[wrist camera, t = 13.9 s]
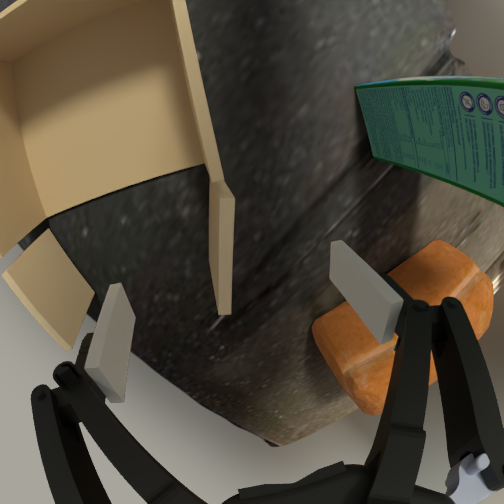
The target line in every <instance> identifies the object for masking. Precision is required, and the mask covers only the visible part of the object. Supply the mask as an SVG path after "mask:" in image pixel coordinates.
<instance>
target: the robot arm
mask: <svg viewBox="0 0 504 504" xmlns="http://www.w3.org/2000/svg"><path fill="white" fill-rule="evenodd" d="M329 278H330V280H331V281H332V282H333V283H334V285H335V286H336V287H337V289H338V290H339V291H340V292H341V294H342V295H343V296H344V297H345V299H346V300H347V301H348V303H349V304H350V305H351V307H352V308H353V309H354V310H355V312H356V313H357V314H358V316H359V317H360V318H361V320H362V321H363V322H364V324H365V325H366V326H367V328H368V329H369V330H370V332H371V333H372V334H373V336H374V337H375V338H376V340H377V341H378V342H379V344H380V345H381V344H384V343H386V342H389V341H391V340H392V339H393V335H394V332H395V333H396V334H397V336H398V339H397V342H396V345H395V348H394V351H395V356H394V362H393V367H392V372H391V377H390V382H389V386H388V391H387V395H386V399H385V404H384V408H383V411H382V415H381V419H380V422H379V426H378V430H377V433H376V436H375V439H374V443H373V446H372V449H371V451H370V453H369V455H368V457H367V459H366V462H365V464H364V465H357V464H349V465H344V463H343V461H341V462H338V463H335V464H333V465H330V466H327V467H324V468H321V469H318V470H317V471H315V472H313V473H311V474H310V475H308V476H306V477H305V478H303V479H301V480H299V481H297V482H295V483H291V484H264V485H258V486H253V487H248V488H242V489H238V491H239V494H236V495H235V496H232V497H230V498H229V499H227V500H226V501H224V502H223V503H222V504H478V503H479V502H480V501H482V500H483V499H484V498H486V497H487V496H489V495H491V494H493V493H495V492H497V491H498V490H500V489H502V488H504V428H503V425H502V421H501V416H500V412H499V407H498V403H497V399H496V396H495V392H494V388H493V385H492V381H491V378H490V375H489V371H488V369H487V365H486V362H485V360H484V357H483V354H482V351H481V348H480V346H479V343H478V340H477V338H476V335H475V333H474V330H473V328H472V325H471V323H470V321H469V318H468V316H467V314H466V311H465V309H464V307H463V305H462V303H461V302H460V301H459V300H458V299H457V298H454V297H450V296H448V297H445V298H443V300H442V302H441V305H433V306H430V305H429V304H428V303H427V302H425V301H423V300H419V299H415V300H414V299H413V298H412V297H411V296H410V295H409V294H408V293H407V292H406V291H405V290H404V289H403V288H402V287H401V286H400V285H399V284H398V283H397V282H395V281H394V280H393V279H392V278H391V277H390V276H388V275H386V274H384V273H379V274H377V273H376V272H375V271H374V270H373V269H372V268H371V267H370V266H369V265H368V264H367V263H366V262H365V261H364V260H363V259H362V258H361V257H359V256H358V255H357V254H356V253H355V252H354V251H353V250H352V249H351V248H350V247H349V246H348V245H347V244H345V243H344V242H343V241H342V240H338V241H333V242H331V255H330V275H329ZM135 318H136V317H135V315H134V313H133V310H132V308H131V306H130V303H129V301H128V298H127V296H126V294H125V291H124V289H123V286H122V284H121V283H117V284H111V285H110V287H109V289H108V292H107V295H106V298H105V301H104V303H103V306H102V309H101V312H100V315H99V318H98V322H97V325H96V328H95V331H94V333H87V335H86V336H85V338H84V339H83V340H82V343H81V347H80V350H79V354H78V356H77V360H76V363H75V365H74V364H73V363H72V362H69V361H66V362H62V363H61V364H59V365H58V366H57V367H56V368H55V370H54V372H53V379H54V380H55V381H56V383H57V384H58V385H59V386H60V387H58V388H55V389H52V390H51V389H50V388H49V387H48V386H47V385H44V384H42V385H39V386H37V387H36V388H35V389H34V390H33V391H32V394H31V405H32V412H33V419H34V425H35V430H36V436H37V441H38V446H39V450H40V454H41V459H42V462H43V466H44V470H45V473H46V477H47V480H48V483H49V487H50V490H51V493H52V495H53V498H54V501H55V504H112V503H111V501H110V499H109V498H108V496H107V493H106V491H105V489H104V488H103V485H102V483H101V481H100V478H99V476H98V474H97V472H96V469H95V467H94V465H93V462H92V460H91V457H90V455H89V452H88V449H87V447H86V444H85V441H84V438H83V435H82V432H81V429H80V426H79V423H80V422H82V423H83V424H84V426H85V427H86V429H87V430H88V432H89V433H90V434H91V436H92V438H93V439H94V441H95V442H96V443H97V445H98V446H99V447H100V449H101V450H102V451H103V453H104V454H105V455H106V456H107V458H108V459H109V460H110V462H111V463H112V464H113V465H114V467H115V468H116V469H117V470H118V471H119V473H120V474H121V475H122V476H123V477H124V479H125V480H126V481H127V482H128V483H129V484H130V485H131V486H132V487H133V489H134V490H135V491H136V492H137V493H138V494H139V495H140V496H141V497H142V498H143V499H144V500H145V501H146V502H147V504H208V503H206V502H205V501H203V500H202V499H200V498H199V497H198V496H197V495H195V494H194V493H193V492H191V491H190V490H189V489H188V488H187V487H185V486H184V485H183V484H182V483H181V482H180V481H178V480H177V479H176V478H175V477H174V476H173V475H172V474H170V473H169V472H168V471H167V470H166V469H165V468H164V467H163V466H162V465H161V464H160V463H158V461H156V460H155V459H154V458H153V457H152V456H151V455H150V454H149V453H148V452H147V451H146V450H145V449H144V448H143V446H141V444H140V443H139V442H138V441H137V440H136V439H135V438H134V437H133V436H132V435H131V434H130V432H128V430H127V429H126V428H125V427H124V426H123V425H122V423H121V422H120V421H119V420H118V419H117V418H116V416H115V415H114V414H113V413H112V411H111V410H110V409H109V408H108V407H107V405H106V404H105V398H107V399H108V400H109V401H110V402H111V403H120V402H124V399H125V388H126V380H127V371H128V363H129V356H130V349H131V342H132V336H133V330H134V324H135ZM431 351H432V355H433V360H434V364H435V369H436V373H437V378H438V383H439V389H440V394H441V401H442V407H443V413H444V422H445V430H446V439H447V451H448V458H449V463H450V467H451V470H450V471H449V473H448V476H447V480H446V482H445V485H446V487H447V492H446V494H442V493H439V492H436V491H433V490H430V489H427V488H424V487H421V486H418V485H415V482H416V478H417V475H418V471H419V467H420V463H421V458H422V454H423V449H424V444H425V439H426V431H424V430H423V423H424V418H425V411H426V404H427V396H428V386H429V376H430V361H431Z"/></svg>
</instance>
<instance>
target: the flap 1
mask: <svg viewBox="0 0 504 504" xmlns="http://www.w3.org/2000/svg"><path fill="white" fill-rule="evenodd" d="M2 277H3V278H4V280H5V281H6V282H7V284H8V285H9V286H10V288H11V289H12V290H13V292H14V293H15V294H16V296H17V297H18V298H19V300H20V301H21V302H22V303H23V305H24V306H25V307H26V308H27V309H28V311H29V312H30V313H31V314H32V315H33V317H34V318H35V319H36V320H37V321H38V322H39V323H40V325H41V326H42V327H43V328H44V329H45V330H46V331H47V332H48V333H49V334H50V336H51V337H52V338H53V339H54V340H55V341H56V342H57V343H58V344H59V345H60V346H61V347H62V348H63V349H64V350H65V351H69V350H71V349H73V346H74V343H75V340H76V338H77V335H78V332H79V330H80V327H81V325H82V322H83V320H84V317H85V315H86V312H87V310H88V307H89V305H90V303H91V300H92V298H93V296H94V294H95V292H94V291H93V289H92V288H91V287H90V286H89V284H88V283H87V282H86V281H85V279H84V278H83V277H82V275H81V274H80V273H79V271H78V270H77V269H76V267H75V266H74V264H73V263H72V262H71V260H70V259H69V258H68V256H67V255H66V253H65V252H64V250H63V249H62V247H61V246H60V245H59V243H58V242H57V240H56V239H55V237H54V236H53V234H52V232H51V231H50V229H49V228H48V229H47V230H46V231H45V232H44V233H43V234H41V235H40V236H39V237H38V238H37V239H36V240H35V241H34V242H33V243H32V244H31V245H30V246H29V247H28V248H27V249H26V250H25V251H24V252H23V253H22V254H21V255H20V256H19V257H18V258H17V259H16V260H15V261H14V262H13V263H12V264H11V265H10V266H9V267H8V269H7V270H6V271H5V272H4V273H3V274H2Z"/></svg>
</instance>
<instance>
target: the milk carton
mask: <svg viewBox="0 0 504 504" xmlns="http://www.w3.org/2000/svg"><path fill="white" fill-rule="evenodd" d="M355 89H356V92H357V96H358V99H359V102H360V106H361V109H362V113H363V117H364V121H365V125H366V128H367V133H368V137H369V141H370V145H371V150H372V154H373V159H377V160H380V161H384V162H387V163H390V164H394V165H397V166H400V167H403V168H406V169H409V170H412V171H415V172H418V173H421V174H424V175H427V176H430V177H433V178H436V179H438V180H441V181H444V182H446V183H449V184H451V185H454V186H456V187H459V188H461V189H464V190H466V191H469V192H471V193H473V194H476V195H478V196H480V197H483V198H485V199H487V200H489V201H491V202H494V203H496V204H498V205H500V206H502V207H504V79H501V78H489V77H475V76H421V77H406V78H398V79H391V80H384V81H378V82H372V83H366V84H361V85H356V86H355Z"/></svg>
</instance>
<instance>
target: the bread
mask: <svg viewBox="0 0 504 504" xmlns="http://www.w3.org/2000/svg"><path fill="white" fill-rule="evenodd" d="M386 275H388V276H390V277H391V278H392V279H393V280H394V281H395V282H397V283H398V284H399V285H400V286H401V287H402V288H403V289H404V290H405V291H406V292H407V293H408V294H409V295H410V296H411V297H412V298H413V299H414V300H415V299H419V300H423V301H425V302H427V303H428V304H429V305H430V306H433V305H441V302H442V300H443V298H445V297H448V296H450V297H454V298H457V299H458V300H459V301H460V302H461V303H462V305H463V307H464V309H465V311H466V314H467V316H468V318H469V321H470V323H471V325H472V328H473V330H474V333H475V335H476V338H477V340H479V339H480V337H481V336H482V335H483V334H484V332H485V331H486V330H487V329H488V327H489V324H490V320H491V315H492V310H493V284H492V282H491V281H490V279H489V277H488V276H487V275H486V274H485V273H483V272H481V271H480V269H479V268H478V266H477V265H476V264H475V263H474V262H473V261H472V260H471V259H470V258H469V257H468V256H467V255H465V254H464V253H462V252H461V251H459V250H457V249H456V248H454V247H453V246H451V245H449V244H447V243H445V242H443V241H441V240H439V239H438V240H434V241H432V242H430V243H429V244H428V245H427V246H425V247H424V248H423V249H422V250H420V251H419V252H417V253H416V254H414V255H413V256H411V257H410V258H408V259H407V260H405V261H404V262H403V263H401V264H400V265H399V266H397V267H396V268H394V269H393V270H392V271H390V272H389V273H387V274H386ZM311 330H312V333H313V337H314V340H315V343H316V345H317V346H318V348H319V350H320V352H321V354H322V355H323V357H324V359H325V361H326V362H327V364H328V366H329V367H330V369H331V371H332V372H333V374H334V375H335V377H336V378H337V380H338V381H339V383H340V384H341V386H342V388H343V389H344V391H345V392H346V393H347V394H348V395H349V396H350V398H351V399H352V400H353V401H354V402H355V403H356V404H357V406H358V407H359V408H360V409H361V410H362V411H363V412H364V413H365V414H369V415H372V416H375V415H379V414H382V411H383V408H384V404H385V399H386V395H387V391H388V386H389V382H390V377H391V372H392V367H393V362H394V356H395V351H394V348H395V345H396V342H397V339H398V336H397V334H396V333H395V332H394V335H393V339H392V340H391V341H389V342H386V343H384V344H381V345H380V344H379V342H378V341H377V340H376V338H375V337H374V336H373V334H372V333H371V332H370V330H369V329H368V328H367V326H366V325H365V324H364V322H363V321H362V320H361V318H360V317H359V316H358V314H357V313H356V312H355V310H354V309H353V308H352V307H351V305H350V304H349V303H348V301H347V300H346V301H345V302H343V303H341V304H340V305H338V306H337V307H335V308H334V309H332V310H330V311H329V312H327V313H325V314H324V315H322V316H321V317H319V318H317V319H316V320H315V321H314V323H313V324H312V328H311ZM436 380H438V378H437V373H436V369H435V364H434V360H433V355H432V351H431V361H430V376H429V385H430V384H432V383H433V382H435V381H436Z"/></svg>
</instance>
